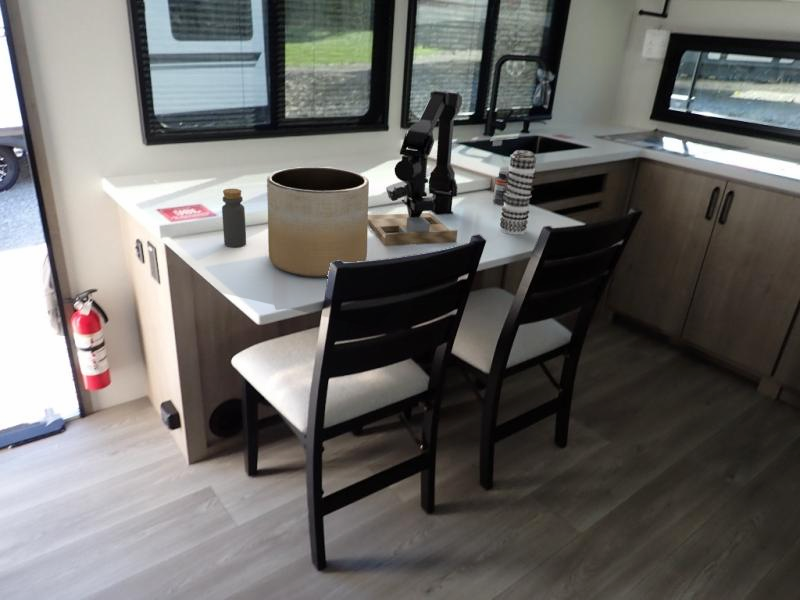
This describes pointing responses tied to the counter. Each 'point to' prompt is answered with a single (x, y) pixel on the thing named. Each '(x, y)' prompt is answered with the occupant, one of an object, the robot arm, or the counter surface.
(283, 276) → the counter surface
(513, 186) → the decorative candle
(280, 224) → the planter
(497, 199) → the supplement bottle
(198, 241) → the counter surface
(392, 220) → the wooden compartment tray
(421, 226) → the block
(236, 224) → the bottle
